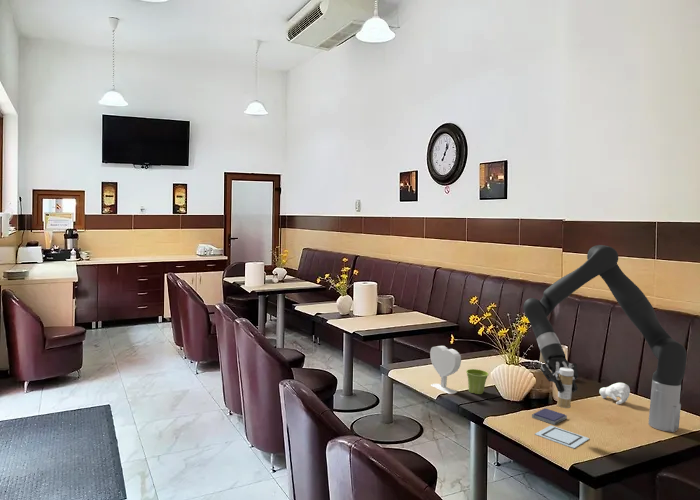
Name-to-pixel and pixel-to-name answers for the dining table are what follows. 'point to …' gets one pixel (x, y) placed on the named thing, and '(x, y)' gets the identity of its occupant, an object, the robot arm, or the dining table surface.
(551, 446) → the dining table surface
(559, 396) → the sprinkles bottle
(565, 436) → the print card
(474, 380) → the plant pot
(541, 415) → the ink pad
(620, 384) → the white bear figurine
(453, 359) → the heart sculpture
